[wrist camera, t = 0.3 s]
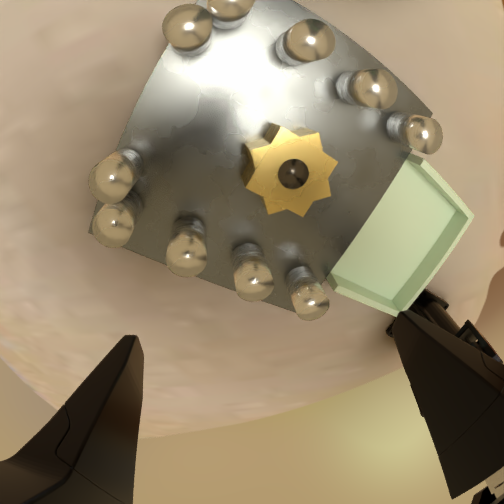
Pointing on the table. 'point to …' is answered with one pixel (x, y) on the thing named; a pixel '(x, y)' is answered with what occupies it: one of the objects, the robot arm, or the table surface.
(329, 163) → the gear
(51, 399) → the table surface
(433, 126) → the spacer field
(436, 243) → the tray
